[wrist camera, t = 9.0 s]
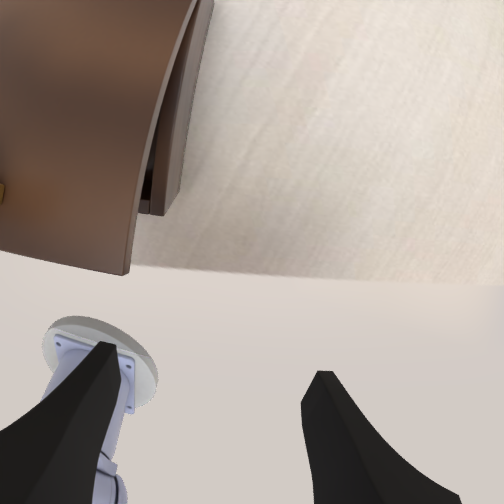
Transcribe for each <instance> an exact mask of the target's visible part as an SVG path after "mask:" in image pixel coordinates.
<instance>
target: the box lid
mask: <svg viewBox="0 0 504 504" xmlns="http://www.w3.org/2000/svg"><path fill="white" fill-rule="evenodd" d="M196 2H197V0H0V250H1V251H5V252H9V253H13V254H18V255H22V256H27V257H31V258H35V259H40V260H44V261H49V262H54V263H58V264H63V265H68V266H73V267H78V268H83V269H88V270H93V271H98V272H103V273H108V274H114V275H119V276H123V275H125V274H128V273H129V270H130V262H131V254H132V246H133V239H134V232H135V226H136V220H137V213H138V208H139V202H140V196H141V191H142V186H143V181H144V176H145V171H146V166H147V161H148V157H149V152H150V148H151V144H152V139H153V135H154V131H155V127H156V123H157V119H158V116H159V112H160V108H161V105H162V101H163V97H164V94H165V90H166V87H167V84H168V80H169V77H170V74H171V71H172V68H173V65H174V61H175V58H176V55H177V52H178V50H179V47H180V44H181V41H182V38H183V35H184V33H185V30H186V27H187V25H188V22H189V19H190V17H191V14H192V12H193V9H194V7H195V4H196Z"/></svg>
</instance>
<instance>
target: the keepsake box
mask: <svg viewBox="0 0 504 504" xmlns="http://www.w3.org/2000/svg"><path fill="white" fill-rule="evenodd" d="M213 7H214V1H213V0H197V2H196V4H195V7H194V9H193V12H192V14H191V17H190V19H189V22H188V25H187V27H186V30H185V33H184V35H183V38H182V41H181V44H180V47H179V50H178V52H177V55H176V58H175V61H174V65H173V68H172V71H171V74H170V77H169V80H168V84H167V87H166V90H165V94H164V97H163V101H162V105H161V108H160V112H159V116H158V119H157V123H156V127H155V131H154V135H153V139H152V144H151V148H150V152H149V157H148V161H147V166H146V171H145V176H144V181H143V186H142V191H141V196H140V202H139V208H138V213H142V214H149V213H150V214H151V215H157V216H164V215H165V213H166V212H167V210H168V208H169V207H170V205H171V204H172V202H173V200H174V199H175V197H176V196H177V194H178V192H179V189H180V181H181V174H182V166H183V159H184V152H185V145H186V139H187V133H188V126H189V120H190V115H191V109H192V103H193V98H194V92H195V87H196V82H197V77H198V72H199V67H200V62H201V58H202V53H203V49H204V44H205V40H206V35H207V31H208V27H209V23H210V19H211V15H212V11H213Z"/></svg>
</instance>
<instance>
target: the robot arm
mask: <svg viewBox="0 0 504 504" xmlns="http://www.w3.org/2000/svg"><path fill="white" fill-rule="evenodd" d="M53 339H54V344H55V349H56V353H57V358H58V362H59V364H58V366H57V368H56V370H55V372H54V374H53V376H52V378H51V380H50V382H49V384H48V386H47V388H46V390H45V393H44V395H43V397H42V399H41V401H40V403H39V404H37V405H36V406H35V407H34V408H32V409H31V410H30V411H29V412H27V413H26V414H25V415H23V416H22V417H21V418H19V419H18V420H17V421H15V422H14V423H12V424H11V425H9V426H8V427H6V428H4V429H3V430H1V431H0V504H127V491H126V488H125V486H124V482H123V480H122V478H121V477H120V476H119V475H117V474H116V470H117V464H115V463H113V462H112V461H111V459H112V458H113V456H114V453H115V449H116V445H117V441H118V436H119V432H120V428H121V425H122V421H123V416H124V413H128V414H134V411H135V360H134V359H133V358H132V357H130V356H126V355H122V354H119V353H117V347H116V345H115V344H111V343H106V342H102V341H100V342H98V343H97V344H96V346H92V345H89V344H86V343H83V342H80V341H77V340H74V339H71V338H68V337H65V336H62V335H59V334H55V336H54V337H53ZM301 417H302V428H303V433H304V438H305V444H306V448H307V453H308V458H309V464H310V469H311V474H312V480H313V493H314V504H462V503H461V500H460V498H459V495H457V494H455V493H453V492H452V491H450V490H448V489H446V488H444V487H442V486H440V485H439V484H437V483H435V482H434V481H432V480H431V479H429V478H428V477H426V476H425V475H423V474H422V473H421V472H419V471H418V470H416V468H414V467H413V466H412V465H411V464H409V463H408V462H407V461H406V460H405V459H403V458H402V457H401V456H400V455H399V454H398V453H397V452H396V451H395V450H394V449H393V448H392V447H391V446H390V445H389V444H388V443H387V442H386V441H385V440H384V439H383V438H382V437H381V435H380V434H379V433H378V432H377V431H376V430H375V428H374V427H373V426H372V425H371V424H370V422H369V421H368V420H367V418H365V416H364V415H363V413H362V412H361V411H360V409H359V408H358V407H357V405H356V404H355V402H354V401H353V400H352V398H351V397H350V395H349V394H348V393H347V391H346V390H345V388H344V387H343V385H342V384H341V383H340V381H339V380H338V378H337V377H336V375H335V374H334V372H333V371H317V373H316V375H315V377H314V379H313V380H312V382H311V384H310V386H309V388H308V390H307V392H306V394H305V395H304V397H303V399H302V401H301Z"/></svg>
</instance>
